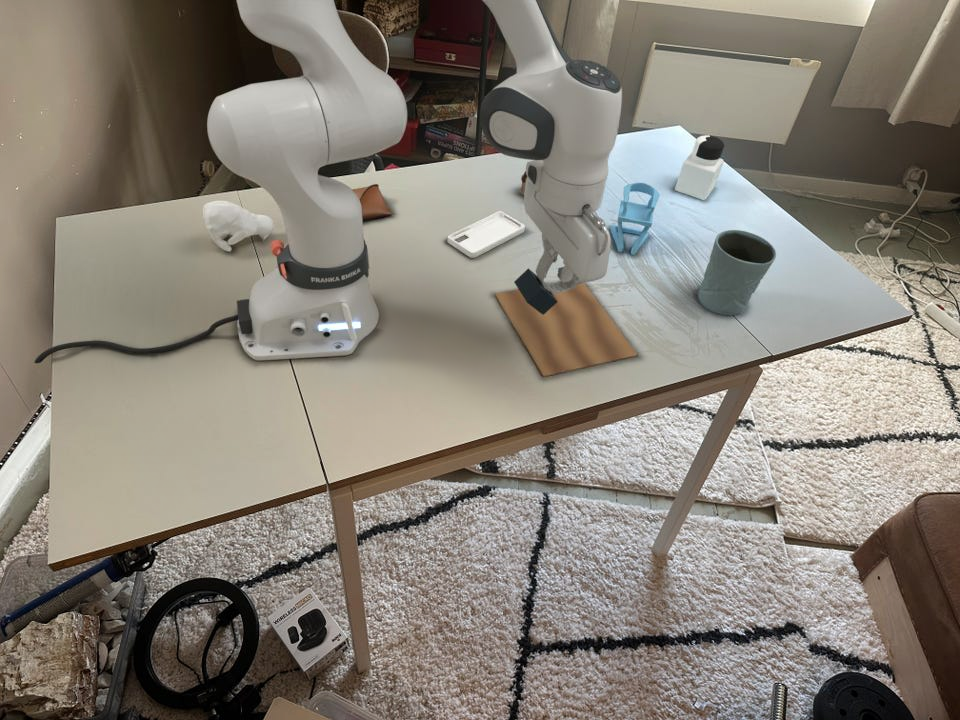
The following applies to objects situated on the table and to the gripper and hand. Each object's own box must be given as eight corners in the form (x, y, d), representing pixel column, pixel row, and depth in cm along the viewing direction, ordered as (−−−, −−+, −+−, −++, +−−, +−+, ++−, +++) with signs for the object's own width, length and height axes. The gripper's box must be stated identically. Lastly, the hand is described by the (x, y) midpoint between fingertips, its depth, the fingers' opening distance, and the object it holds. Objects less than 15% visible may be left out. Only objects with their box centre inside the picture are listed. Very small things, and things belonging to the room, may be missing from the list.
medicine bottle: (714, 188, 147) (732, 138, 138) (704, 201, 142) (722, 150, 134) (684, 178, 149) (700, 128, 141) (674, 190, 145) (690, 140, 136)
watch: (550, 320, 101) (603, 272, 98) (520, 297, 96) (575, 246, 93) (536, 299, 105) (586, 252, 102) (507, 276, 99) (559, 226, 96)
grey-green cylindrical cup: (683, 288, 119) (704, 233, 110) (728, 279, 122) (751, 225, 113) (715, 323, 112) (740, 267, 104) (762, 312, 115) (789, 258, 107)
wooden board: (543, 377, 100) (543, 375, 100) (495, 295, 114) (495, 293, 113) (637, 356, 105) (637, 354, 105) (580, 279, 118) (580, 278, 118)
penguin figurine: (198, 195, 114) (268, 190, 118) (205, 236, 119) (271, 230, 124) (203, 213, 110) (275, 208, 114) (209, 255, 115) (278, 248, 120)
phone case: (472, 259, 121) (525, 231, 129) (472, 253, 120) (526, 225, 128) (446, 241, 124) (499, 215, 132) (446, 236, 123) (500, 210, 131)
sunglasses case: (310, 235, 121) (300, 199, 119) (301, 234, 128) (291, 201, 125) (396, 214, 129) (388, 180, 127) (384, 214, 135) (376, 182, 133)
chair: (606, 250, 126) (620, 196, 118) (610, 228, 132) (623, 174, 123) (645, 257, 125) (662, 203, 117) (648, 235, 131) (664, 182, 122)
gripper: (630, 225, 83) (608, 307, 93) (559, 152, 96) (546, 231, 106) (587, 232, 81) (569, 315, 91) (521, 157, 94) (511, 236, 104)
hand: (556, 269), depth 98 cm, fingers closed on watch, 3 cm apart
